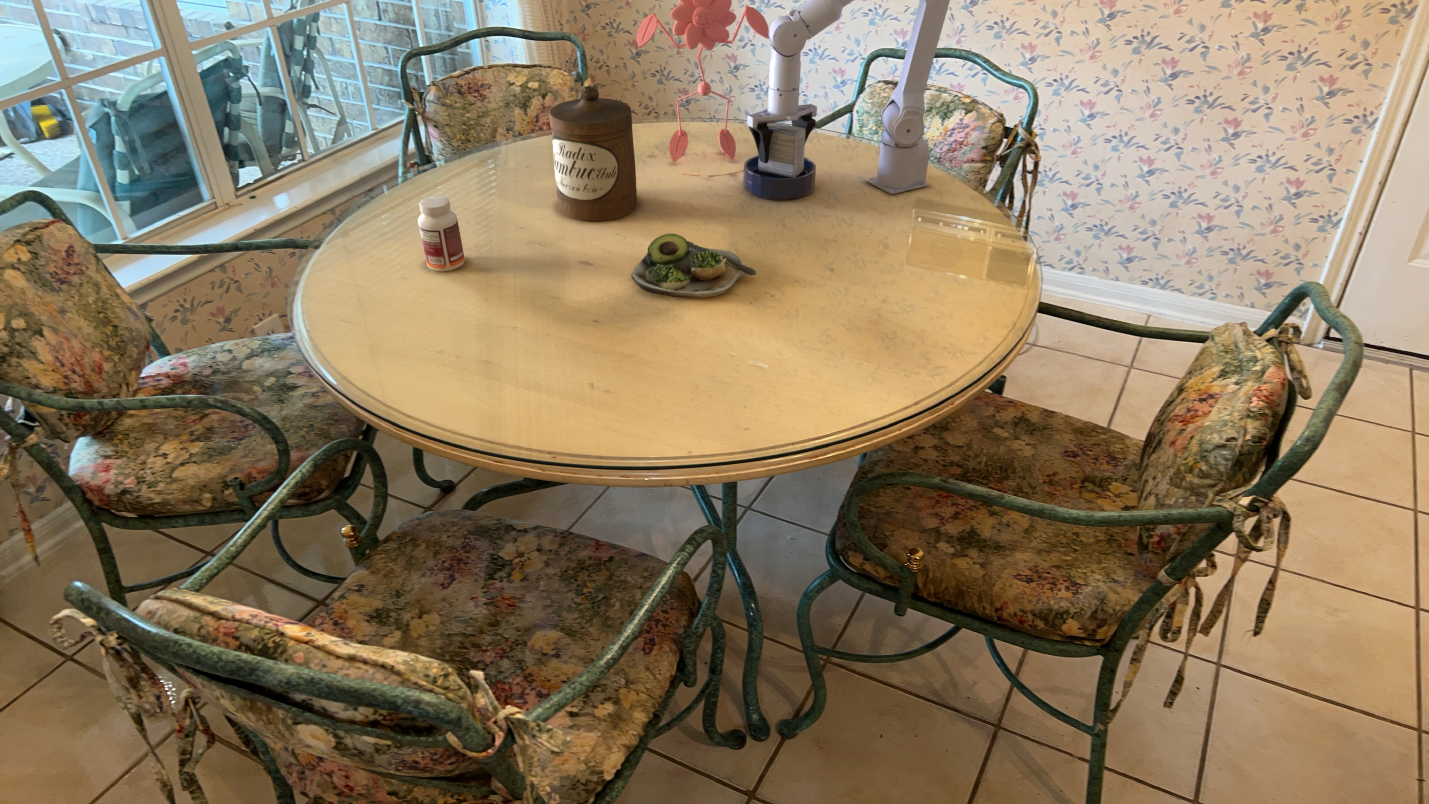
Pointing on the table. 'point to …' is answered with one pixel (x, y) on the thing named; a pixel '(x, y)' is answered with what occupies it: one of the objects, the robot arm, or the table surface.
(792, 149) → the medicine box
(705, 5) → the figurine
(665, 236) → the salad plate
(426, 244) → the pill bottle
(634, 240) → the table surface
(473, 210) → the table surface
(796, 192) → the bowl
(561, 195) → the wooden container
